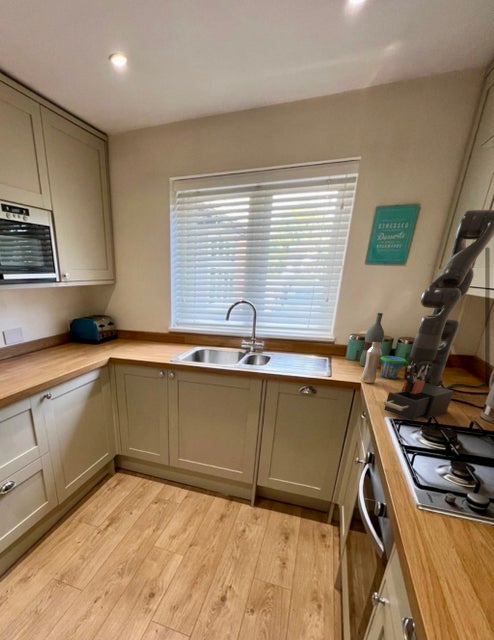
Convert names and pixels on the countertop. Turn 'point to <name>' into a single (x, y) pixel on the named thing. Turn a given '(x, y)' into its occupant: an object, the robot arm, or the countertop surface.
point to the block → (416, 386)
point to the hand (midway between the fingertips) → (412, 390)
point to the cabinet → (436, 399)
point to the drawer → (407, 404)
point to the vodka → (372, 337)
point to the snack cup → (391, 366)
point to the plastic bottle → (372, 363)
